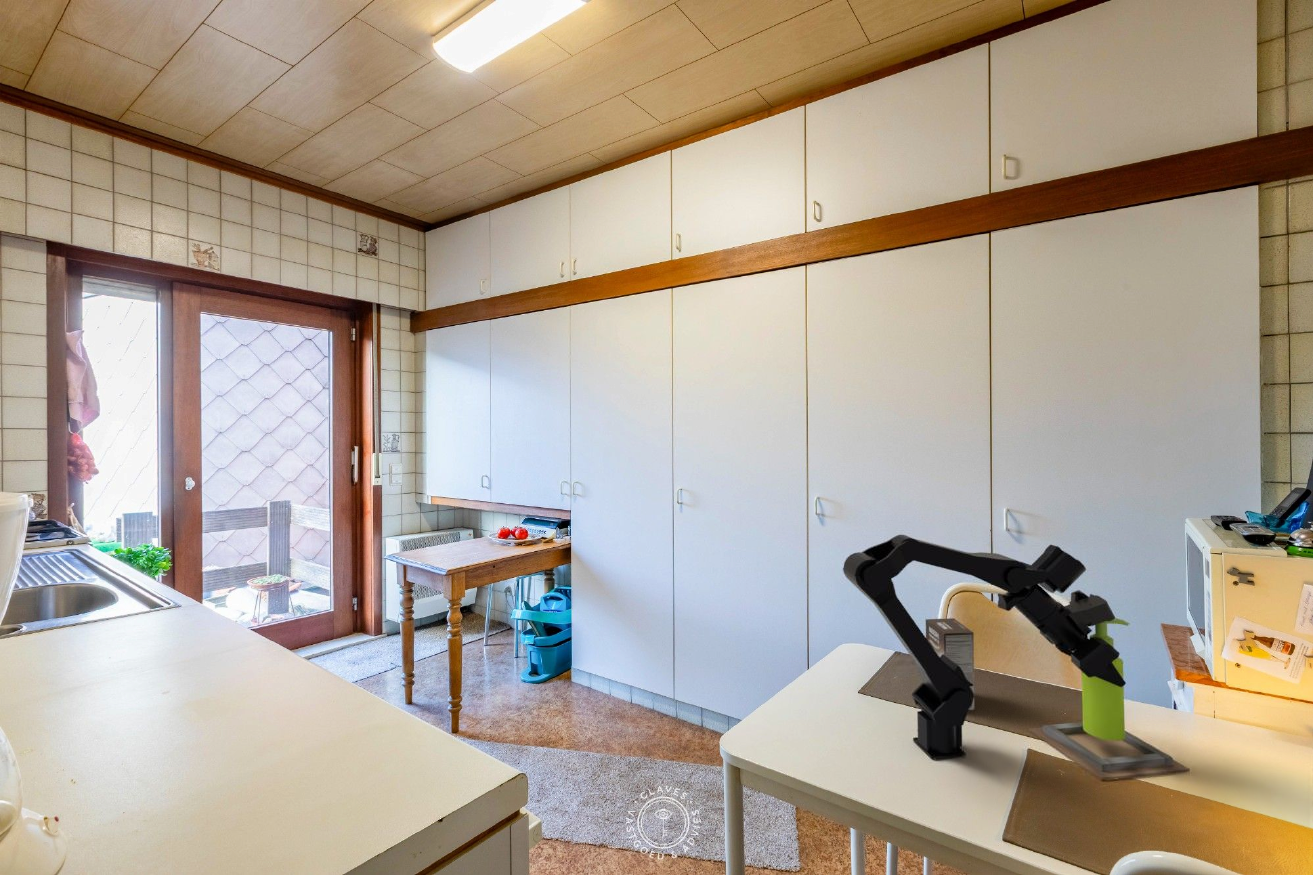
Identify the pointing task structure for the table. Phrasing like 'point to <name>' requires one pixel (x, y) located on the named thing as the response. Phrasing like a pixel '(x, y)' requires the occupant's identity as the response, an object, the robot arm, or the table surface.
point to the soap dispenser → (1104, 697)
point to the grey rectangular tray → (1108, 753)
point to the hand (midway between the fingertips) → (1114, 677)
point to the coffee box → (953, 644)
